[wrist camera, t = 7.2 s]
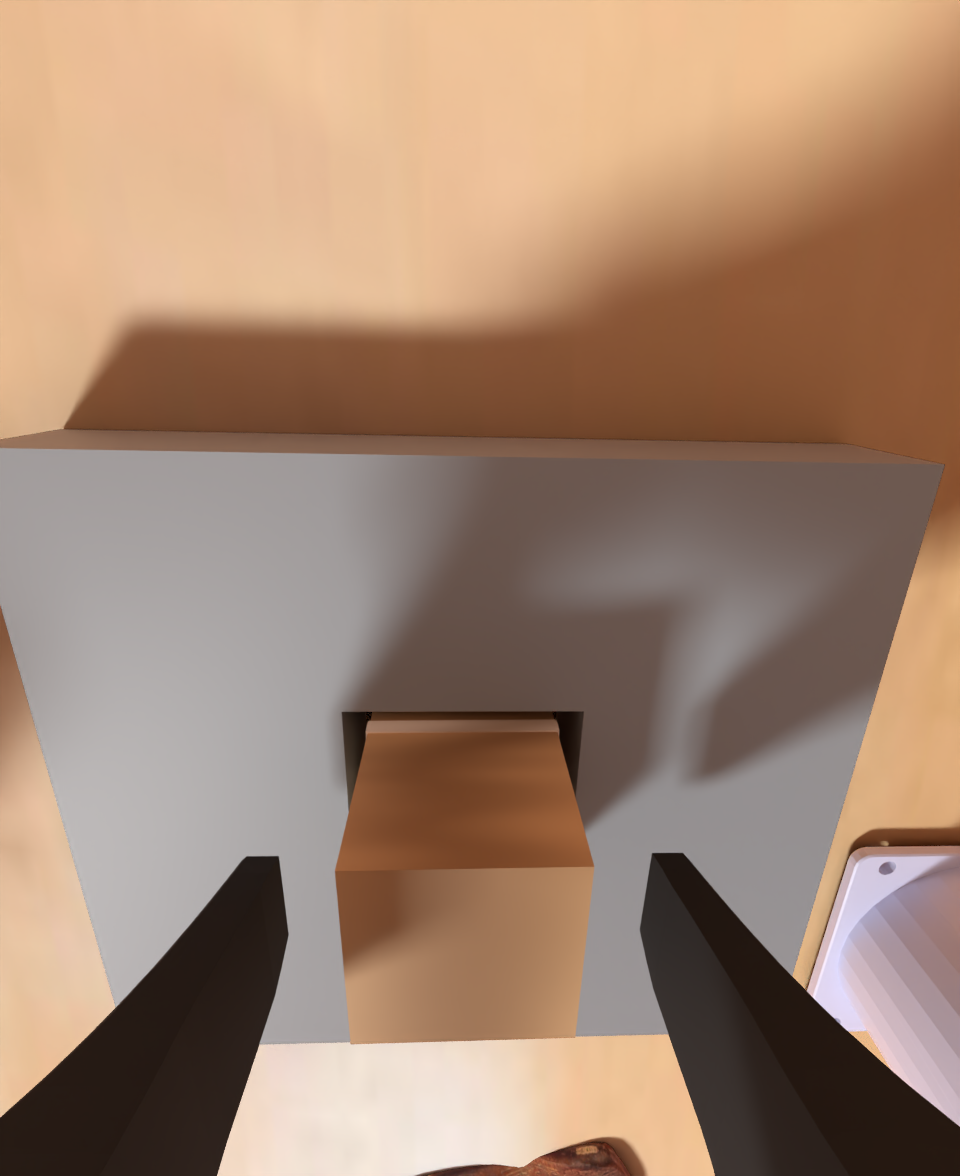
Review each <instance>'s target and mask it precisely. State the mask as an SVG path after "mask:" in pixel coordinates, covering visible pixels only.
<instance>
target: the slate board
mask: <svg viewBox="0 0 960 1176" xmlns="http://www.w3.org/2000/svg"><path fill="white" fill-rule="evenodd" d="M944 466H945V464H940V463H935V462H931V461H926V460H921V459H916V458H912V457H907V456H902V455H897V454H893V453H888V452H883V451H878V450H874V449H869V448H864V447H860V446H855V445H850V444H826V443H773V442H719V441H666V440H613V439H559V438H506V437H452V436H399V435H346V434H292V433H239V432H186V431H132V430H79V429H59V430H53V431H48V432H42V433H36V434H30V435H24V436H19V437H13V438H7V439H1V440H0V606H1V609H2V613H3V616H4V620H5V623H6V627H7V630H8V634H9V637H10V641H11V644H12V648H13V651H14V655H15V658H16V662H17V665H18V669H19V672H20V676H21V679H22V683H23V686H24V690H25V693H26V696H27V700H28V703H29V707H30V710H31V714H32V717H33V721H34V724H35V728H36V731H37V735H38V738H39V742H40V745H41V749H42V752H43V756H44V759H45V763H46V766H47V770H48V773H49V777H50V780H51V784H52V787H53V791H54V794H55V798H56V801H57V805H58V808H59V811H60V815H61V818H62V822H63V825H64V829H65V832H66V836H67V839H68V843H69V846H70V850H71V853H72V857H73V860H74V864H75V867H76V871H77V874H78V878H79V881H80V885H81V888H82V892H83V895H84V899H85V902H86V906H87V909H88V913H89V916H90V920H91V923H92V926H93V930H94V933H95V937H96V940H97V944H98V947H99V951H100V954H101V958H102V961H103V965H104V968H105V972H106V975H107V979H108V982H109V986H110V989H111V993H112V996H113V1000H114V1003H115V1007H117V1006H118V1005H119V1004H120V1003H121V1001H122V1000H123V999H124V998H125V997H126V996H127V995H128V994H129V993H130V992H131V991H132V990H133V989H134V988H135V986H136V985H137V984H138V983H139V982H140V981H141V980H142V979H143V978H144V977H145V976H146V975H147V974H148V972H149V971H150V970H151V969H152V968H153V967H154V966H155V965H156V964H157V962H158V961H159V960H160V959H161V958H162V957H163V956H164V954H165V953H166V952H167V951H168V950H169V949H170V947H171V946H172V945H173V944H174V943H175V942H176V940H177V939H178V938H179V937H180V936H181V935H182V933H183V932H184V931H185V930H186V929H187V928H188V927H189V925H190V924H191V923H192V922H193V921H194V919H195V918H196V917H197V916H198V915H199V913H200V912H201V911H202V910H203V908H204V907H205V906H206V905H207V904H208V902H209V901H210V900H211V899H212V897H213V896H214V895H215V894H216V892H217V891H218V890H219V889H220V887H221V886H222V885H223V884H224V882H225V881H226V880H227V879H228V877H229V876H230V875H231V873H232V872H233V871H234V870H235V868H236V867H237V866H238V865H239V863H240V862H241V861H242V860H243V859H244V858H245V857H246V856H279V861H280V869H281V877H282V885H283V893H284V901H285V909H286V917H287V925H288V932H289V936H288V941H287V945H286V950H285V955H284V959H283V964H282V969H281V973H280V977H279V981H278V986H277V990H276V994H275V998H274V1001H273V1004H272V1007H271V1010H270V1013H269V1016H268V1019H267V1022H266V1025H265V1029H264V1032H263V1035H262V1038H261V1041H260V1044H297V1043H337V1042H350V1032H349V1021H348V1010H347V999H346V988H345V977H344V966H343V955H342V944H341V934H340V923H339V912H338V901H337V890H336V879H335V868H336V864H337V860H338V856H339V851H340V847H341V843H342V839H343V835H344V830H345V826H346V822H347V818H348V813H349V809H350V805H351V801H352V797H353V792H354V788H355V784H356V780H357V775H358V771H359V767H360V763H361V759H362V754H363V750H364V746H365V742H366V727H367V724H366V712H427V711H556V720H557V723H558V727H559V739H560V743H561V747H562V750H563V754H564V758H565V761H566V765H567V769H568V772H569V776H570V779H571V783H572V787H573V790H574V794H575V798H576V801H577V805H578V809H579V812H580V816H581V820H582V823H583V827H584V831H585V834H586V838H587V841H588V845H589V849H590V852H591V856H592V860H593V863H594V875H593V884H592V893H591V902H590V911H589V920H588V929H587V937H586V946H585V955H584V964H583V973H582V982H581V991H580V1000H579V1009H578V1018H577V1026H576V1035H575V1037H577V1036H617V1035H656V1034H668V1031H667V1028H666V1025H665V1022H664V1019H663V1016H662V1013H661V1010H660V1008H659V1005H658V1002H657V999H656V996H655V993H654V990H653V986H652V982H651V978H650V974H649V969H648V965H647V961H646V957H645V952H644V948H643V943H642V939H641V934H640V924H641V918H642V912H643V905H644V899H645V893H646V887H647V881H648V874H649V868H650V862H651V856H652V853H684V855H685V856H686V857H687V858H688V859H689V860H690V861H691V862H692V864H693V865H694V866H695V867H696V868H697V870H698V871H699V872H700V873H701V874H702V875H703V877H704V878H705V879H706V880H707V881H708V883H709V884H710V885H711V886H712V887H713V889H714V890H715V891H716V892H717V893H718V894H719V896H720V897H721V898H722V899H723V900H724V902H725V903H726V904H727V905H728V906H729V907H730V908H731V910H732V911H733V912H734V913H735V914H736V915H737V917H738V918H739V919H740V920H741V921H742V922H743V923H744V925H745V926H746V927H747V928H748V929H749V930H750V931H751V932H752V933H753V935H754V936H755V937H756V938H757V939H758V940H759V941H760V942H761V943H762V944H763V946H764V947H765V948H766V949H767V950H768V951H769V952H770V953H771V954H772V955H773V957H774V958H775V959H776V960H777V961H778V962H779V963H780V964H781V965H782V966H783V967H784V968H785V969H786V970H787V971H788V973H789V974H790V975H791V976H792V975H793V971H794V968H795V965H796V961H797V958H798V955H799V951H800V948H801V945H802V941H803V938H804V935H805V931H806V928H807V925H808V921H809V918H810V914H811V911H812V908H813V904H814V901H815V898H816V894H817V891H818V888H819V884H820V881H821V878H822V874H823V871H824V868H825V864H826V861H827V858H828V854H829V851H830V848H831V844H832V841H833V838H834V834H835V831H836V828H837V824H838V821H839V818H840V814H841V811H842V807H843V804H844V801H845V797H846V794H847V791H848V787H849V784H850V781H851V777H852V774H853V771H854V767H855V764H856V761H857V757H858V754H859V751H860V747H861V744H862V741H863V737H864V734H865V731H866V727H867V724H868V721H869V717H870V714H871V711H872V707H873V704H874V700H875V697H876V694H877V690H878V687H879V684H880V680H881V677H882V674H883V670H884V667H885V664H886V660H887V657H888V654H889V650H890V647H891V644H892V640H893V637H894V634H895V630H896V627H897V624H898V620H899V617H900V614H901V610H902V607H903V604H904V600H905V597H906V593H907V590H908V587H909V583H910V580H911V577H912V573H913V570H914V567H915V563H916V560H917V557H918V553H919V550H920V547H921V543H922V540H923V537H924V533H925V530H926V527H927V523H928V520H929V517H930V513H931V510H932V507H933V503H934V500H935V497H936V493H937V490H938V486H939V483H940V480H941V476H942V473H943V470H944Z"/></svg>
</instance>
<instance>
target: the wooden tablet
mask: <svg viewBox="0 0 960 1176" xmlns="http://www.w3.org/2000/svg"><path fill="white" fill-rule="evenodd" d="M426 1176H631V1175H630V1174H629V1172H628V1171H627V1169H626V1168H625V1166H624V1164H623V1162H622V1161H621V1159H620V1158H619V1157H618V1156H617V1154H616V1153H615V1151H614V1149H613V1148H611V1147H610V1146H609V1145H608V1144H606V1143H588V1144H583V1145H579V1146H574V1147H570V1148H567V1149H563V1150H559V1151H556V1152H552V1153H549V1154H546V1155H544V1156H541V1157H538V1158H537V1159H535V1160H533V1161H532V1162H530V1163H529V1164H528V1165H526V1166H525V1167H520V1168H518V1167H509V1166H497V1165H482V1166H473V1167H463V1168H459V1169H451V1170H447V1171H443V1172H437V1173H433V1174H429V1175H426Z"/></svg>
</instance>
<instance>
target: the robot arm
mask: <svg viewBox="0 0 960 1176" xmlns="http://www.w3.org/2000/svg"><path fill="white" fill-rule="evenodd" d="M640 934H641V939H642V943H643V948H644V952H645V957H646V961H647V965H648V969H649V974H650V978H651V982H652V986H653V990H654V993H655V996H656V999H657V1002H658V1005H659V1008H660V1010H661V1013H662V1016H663V1019H664V1022H665V1025H666V1028H667V1031H668V1034H669V1037H670V1040H671V1043H672V1046H673V1048H674V1051H675V1054H676V1057H677V1060H678V1063H679V1066H680V1069H681V1072H682V1074H683V1077H684V1080H685V1083H686V1086H687V1089H688V1092H689V1095H690V1098H691V1100H692V1103H693V1106H694V1109H695V1112H696V1115H697V1118H698V1121H699V1124H700V1126H701V1129H702V1133H703V1136H704V1139H705V1142H706V1145H707V1149H708V1152H709V1155H710V1158H711V1162H712V1165H713V1169H714V1173H715V1176H960V846H897V847H863V848H859V849H857V850H855V851H854V852H853V853H852V854H851V855H850V857H849V859H848V862H847V865H846V869H845V872H844V875H843V878H842V881H841V884H840V888H839V891H838V894H837V897H836V900H835V903H834V907H833V910H832V913H831V916H830V919H829V922H828V926H827V929H826V932H825V935H824V938H823V941H822V945H821V948H820V951H819V954H818V957H817V960H816V964H815V967H814V970H813V973H812V976H811V979H810V983H809V986H808V989H807V991H806V990H805V989H804V988H803V987H802V986H801V985H800V984H799V983H798V982H797V981H796V980H795V979H794V978H793V977H792V976H791V975H790V974H789V973H788V971H787V970H786V969H785V968H784V967H783V966H782V965H781V964H780V963H779V962H778V961H777V960H776V959H775V958H774V957H773V955H772V954H771V953H770V952H769V951H768V950H767V949H766V948H765V947H764V946H763V944H762V943H761V942H760V941H759V940H758V939H757V938H756V937H755V936H754V935H753V933H752V932H751V931H750V930H749V929H748V928H747V927H746V926H745V925H744V923H743V922H742V921H741V920H740V919H739V918H738V917H737V915H736V914H735V913H734V912H733V911H732V910H731V908H730V907H729V906H728V905H727V904H726V903H725V902H724V900H723V899H722V898H721V897H720V896H719V894H718V893H717V892H716V891H715V890H714V889H713V887H712V886H711V885H710V884H709V883H708V881H707V880H706V879H705V878H704V877H703V875H702V874H701V873H700V872H699V871H698V870H697V868H696V867H695V866H694V865H693V864H692V862H691V861H690V860H689V859H688V858H687V857H686V856H685V855H684V853H652V856H651V862H650V868H649V874H648V881H647V887H646V893H645V899H644V905H643V912H642V918H641V924H640ZM288 936H289V932H288V925H287V917H286V909H285V901H284V893H283V885H282V877H281V869H280V861H279V856H246V857H245V858H244V859H243V860H242V861H241V862H240V863H239V865H238V866H237V867H236V868H235V870H234V871H233V872H232V873H231V875H230V876H229V877H228V879H227V880H226V881H225V882H224V884H223V885H222V886H221V887H220V889H219V890H218V891H217V892H216V894H215V895H214V896H213V897H212V899H211V900H210V901H209V902H208V904H207V905H206V906H205V907H204V908H203V910H202V911H201V912H200V913H199V915H198V916H197V917H196V918H195V919H194V921H193V922H192V923H191V924H190V925H189V927H188V928H187V929H186V930H185V931H184V932H183V933H182V935H181V936H180V937H179V938H178V939H177V940H176V942H175V943H174V944H173V945H172V946H171V947H170V949H169V950H168V951H167V952H166V953H165V954H164V956H163V957H162V958H161V959H160V960H159V961H158V962H157V964H156V965H155V966H154V967H153V968H152V969H151V970H150V971H149V972H148V974H147V975H146V976H145V977H144V978H143V979H142V980H141V981H140V982H139V983H138V984H137V985H136V986H135V988H134V989H133V990H132V991H131V992H130V993H129V994H128V995H127V996H126V997H125V998H124V999H123V1000H122V1001H121V1003H120V1004H119V1005H118V1006H117V1007H116V1008H115V1009H114V1010H113V1011H112V1012H111V1013H110V1014H109V1015H108V1016H107V1017H106V1018H105V1019H104V1020H103V1021H102V1022H101V1023H100V1024H99V1025H98V1026H97V1027H96V1028H95V1030H94V1031H93V1032H92V1033H91V1034H90V1035H89V1036H88V1037H87V1038H86V1039H84V1040H83V1041H82V1042H81V1043H80V1044H79V1045H78V1046H77V1047H76V1048H75V1049H74V1050H73V1051H72V1052H71V1053H70V1054H69V1055H68V1056H67V1057H66V1058H65V1059H64V1060H63V1061H62V1062H61V1063H60V1064H59V1065H58V1066H57V1067H55V1068H54V1069H53V1070H52V1071H51V1072H50V1073H49V1074H48V1075H47V1076H46V1077H45V1078H44V1079H43V1080H42V1081H40V1082H39V1083H38V1084H37V1085H36V1086H35V1087H34V1088H33V1089H32V1090H30V1091H29V1092H28V1093H27V1094H26V1095H25V1096H24V1097H23V1098H22V1099H20V1100H19V1101H18V1102H17V1103H16V1104H15V1105H14V1106H13V1107H12V1108H10V1109H9V1110H8V1111H7V1112H6V1113H5V1114H4V1115H3V1116H2V1117H0V1176H217V1174H218V1170H219V1167H220V1163H221V1160H222V1157H223V1153H224V1150H225V1147H226V1143H227V1140H228V1137H229V1134H230V1131H231V1128H232V1125H233V1122H234V1119H235V1116H236V1113H237V1110H238V1107H239V1104H240V1101H241V1098H242V1095H243V1092H244V1089H245V1086H246V1083H247V1080H248V1077H249V1074H250V1071H251V1068H252V1065H253V1062H254V1059H255V1056H256V1053H257V1050H258V1047H259V1044H260V1041H261V1038H262V1035H263V1032H264V1029H265V1025H266V1022H267V1019H268V1016H269V1013H270V1010H271V1007H272V1004H273V1001H274V998H275V994H276V990H277V986H278V981H279V977H280V973H281V969H282V964H283V959H284V955H285V950H286V945H287V941H288ZM848 1031H868V1033H869V1035H870V1036H871V1038H872V1040H873V1041H874V1043H875V1044H876V1046H877V1048H878V1049H879V1051H880V1053H881V1054H882V1056H883V1057H884V1059H885V1061H886V1062H887V1064H888V1066H889V1067H890V1069H891V1070H890V1069H889V1068H888V1067H887V1066H886V1065H885V1064H883V1063H882V1062H881V1061H880V1060H879V1059H878V1058H877V1057H876V1056H875V1055H873V1054H872V1053H871V1052H870V1051H869V1050H868V1049H867V1048H866V1047H865V1046H863V1045H862V1044H861V1043H860V1042H859V1041H858V1040H857V1039H856V1038H855V1037H854V1036H852V1035H851V1034H850V1033H849V1032H848Z"/></svg>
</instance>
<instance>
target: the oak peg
mask: <svg viewBox="0 0 960 1176" xmlns="http://www.w3.org/2000/svg"><path fill="white" fill-rule="evenodd" d="M593 875H594V863H593V860H592V856H591V852H590V849H589V845H588V841H587V838H586V834H585V831H584V827H583V823H582V820H581V816H580V812H579V809H578V805H577V801H576V798H575V794H574V790H573V787H572V783H571V779H570V776H569V772H568V769H567V765H566V761H565V758H564V754H563V750H562V747H561V743H560V739H559V727H558V723H557V720H554V718H553V714H552V711H427V712H372V716H371V721H368V723H367V727H366V742H365V746H364V750H363V754H362V759H361V763H360V767H359V771H358V775H357V780H356V784H355V788H354V792H353V797H352V801H351V805H350V809H349V813H348V818H347V822H346V826H345V830H344V835H343V839H342V843H341V847H340V851H339V856H338V860H337V864H336V868H335V879H336V890H337V901H338V912H339V923H340V934H341V944H342V955H343V966H344V977H345V988H346V999H347V1010H348V1021H349V1032H350V1043H351V1044H373V1043H407V1042H441V1041H475V1040H509V1039H543V1038H575V1035H576V1026H577V1018H578V1009H579V1000H580V991H581V982H582V973H583V964H584V955H585V946H586V937H587V929H588V920H589V911H590V902H591V893H592V884H593Z"/></svg>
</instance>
